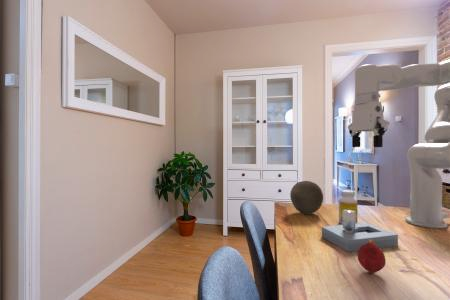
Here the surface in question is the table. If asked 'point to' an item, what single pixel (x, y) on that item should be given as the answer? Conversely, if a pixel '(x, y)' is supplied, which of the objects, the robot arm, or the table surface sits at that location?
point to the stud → (348, 221)
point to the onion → (371, 257)
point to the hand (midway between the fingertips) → (366, 147)
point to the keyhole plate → (359, 236)
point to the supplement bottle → (347, 204)
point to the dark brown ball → (306, 197)
